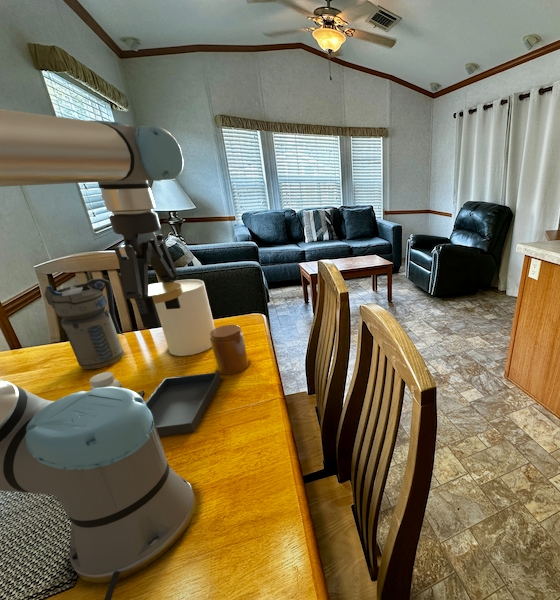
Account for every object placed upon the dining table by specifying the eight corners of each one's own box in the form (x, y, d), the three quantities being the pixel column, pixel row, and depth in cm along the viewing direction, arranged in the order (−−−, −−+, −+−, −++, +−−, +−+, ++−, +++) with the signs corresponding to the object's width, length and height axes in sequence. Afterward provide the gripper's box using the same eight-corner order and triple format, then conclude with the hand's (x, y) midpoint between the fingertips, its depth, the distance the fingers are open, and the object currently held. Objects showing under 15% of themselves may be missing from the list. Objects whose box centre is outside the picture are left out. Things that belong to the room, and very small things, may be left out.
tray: (194, 432, 70) (191, 422, 69) (124, 441, 68) (121, 432, 67) (221, 379, 88) (219, 371, 87) (167, 385, 85) (164, 377, 84)
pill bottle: (128, 414, 76) (114, 378, 72) (98, 423, 73) (82, 387, 69) (130, 401, 80) (117, 367, 76) (102, 409, 77) (87, 374, 73)
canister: (160, 348, 104) (142, 289, 96) (203, 331, 114) (189, 277, 107) (183, 360, 97) (164, 297, 90) (226, 341, 108) (213, 283, 100)
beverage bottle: (140, 355, 100) (113, 277, 90) (84, 376, 89) (47, 291, 80) (126, 346, 105) (100, 271, 96) (72, 365, 95) (36, 284, 85)
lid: (120, 306, 65) (117, 297, 64) (145, 291, 74) (143, 283, 73) (171, 302, 67) (169, 294, 66) (189, 288, 75) (187, 281, 74)
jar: (244, 372, 91) (237, 335, 87) (213, 375, 89) (204, 338, 85) (251, 357, 98) (244, 323, 94) (222, 360, 97) (214, 325, 92)
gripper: (141, 206, 73) (167, 300, 81) (69, 219, 53) (113, 341, 61) (178, 206, 74) (200, 298, 82) (121, 218, 54) (158, 338, 62)
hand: (163, 316), depth 72 cm, fingers closed on lid, 9 cm apart
